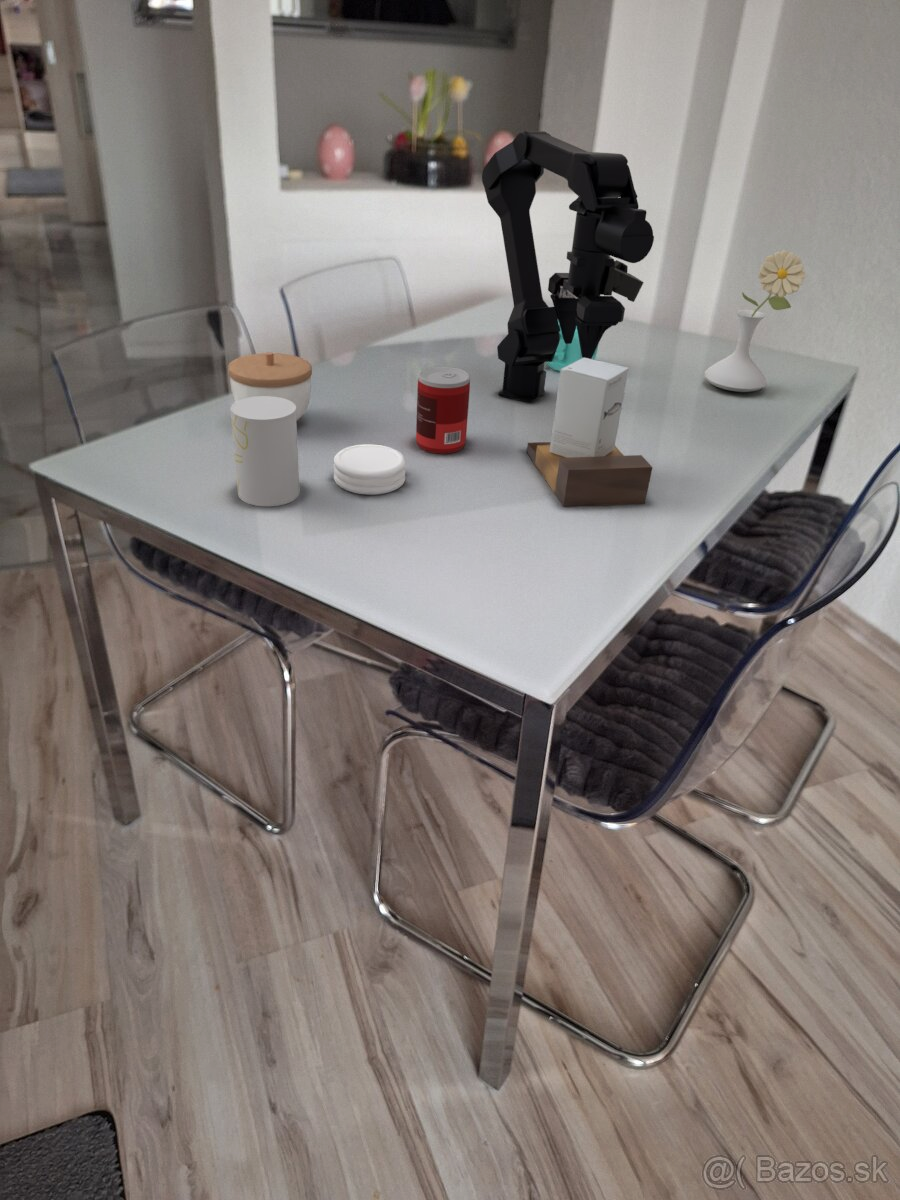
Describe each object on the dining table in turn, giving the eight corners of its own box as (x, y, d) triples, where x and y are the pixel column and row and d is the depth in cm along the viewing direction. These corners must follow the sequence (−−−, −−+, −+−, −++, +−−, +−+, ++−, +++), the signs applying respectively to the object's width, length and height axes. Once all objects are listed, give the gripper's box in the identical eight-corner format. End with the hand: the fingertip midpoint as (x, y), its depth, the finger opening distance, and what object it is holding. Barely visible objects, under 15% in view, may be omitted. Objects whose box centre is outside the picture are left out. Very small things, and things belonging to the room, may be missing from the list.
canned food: (472, 439, 135) (477, 370, 128) (455, 458, 128) (460, 387, 122) (426, 430, 136) (429, 362, 130) (408, 449, 130) (410, 378, 124)
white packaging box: (593, 467, 121) (607, 380, 114) (547, 452, 124) (558, 367, 117) (615, 451, 126) (630, 367, 119) (571, 437, 130) (583, 355, 123)
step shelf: (526, 451, 132) (530, 417, 129) (599, 449, 134) (605, 416, 131) (563, 507, 117) (568, 470, 114) (645, 503, 119) (652, 467, 116)
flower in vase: (698, 390, 160) (730, 249, 146) (706, 373, 169) (737, 238, 155) (770, 403, 156) (809, 259, 143) (775, 385, 165) (812, 248, 152)
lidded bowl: (328, 417, 139) (327, 350, 133) (284, 443, 129) (280, 372, 123) (263, 402, 143) (259, 335, 137) (216, 426, 133) (209, 356, 127)
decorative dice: (595, 366, 169) (601, 325, 164) (578, 376, 163) (584, 334, 158) (559, 357, 172) (564, 317, 168) (540, 367, 166) (545, 325, 162)
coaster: (377, 503, 115) (377, 479, 113) (319, 482, 119) (318, 459, 117) (418, 477, 122) (419, 455, 120) (362, 459, 126) (362, 437, 124)
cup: (241, 478, 118) (234, 395, 112) (301, 479, 119) (297, 396, 113) (234, 506, 112) (226, 418, 105) (297, 506, 112) (293, 420, 106)
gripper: (667, 263, 121) (646, 371, 130) (619, 236, 136) (604, 334, 145) (592, 262, 119) (577, 372, 128) (553, 235, 134) (541, 334, 143)
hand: (577, 352), depth 136 cm, fingers open, 9 cm apart
